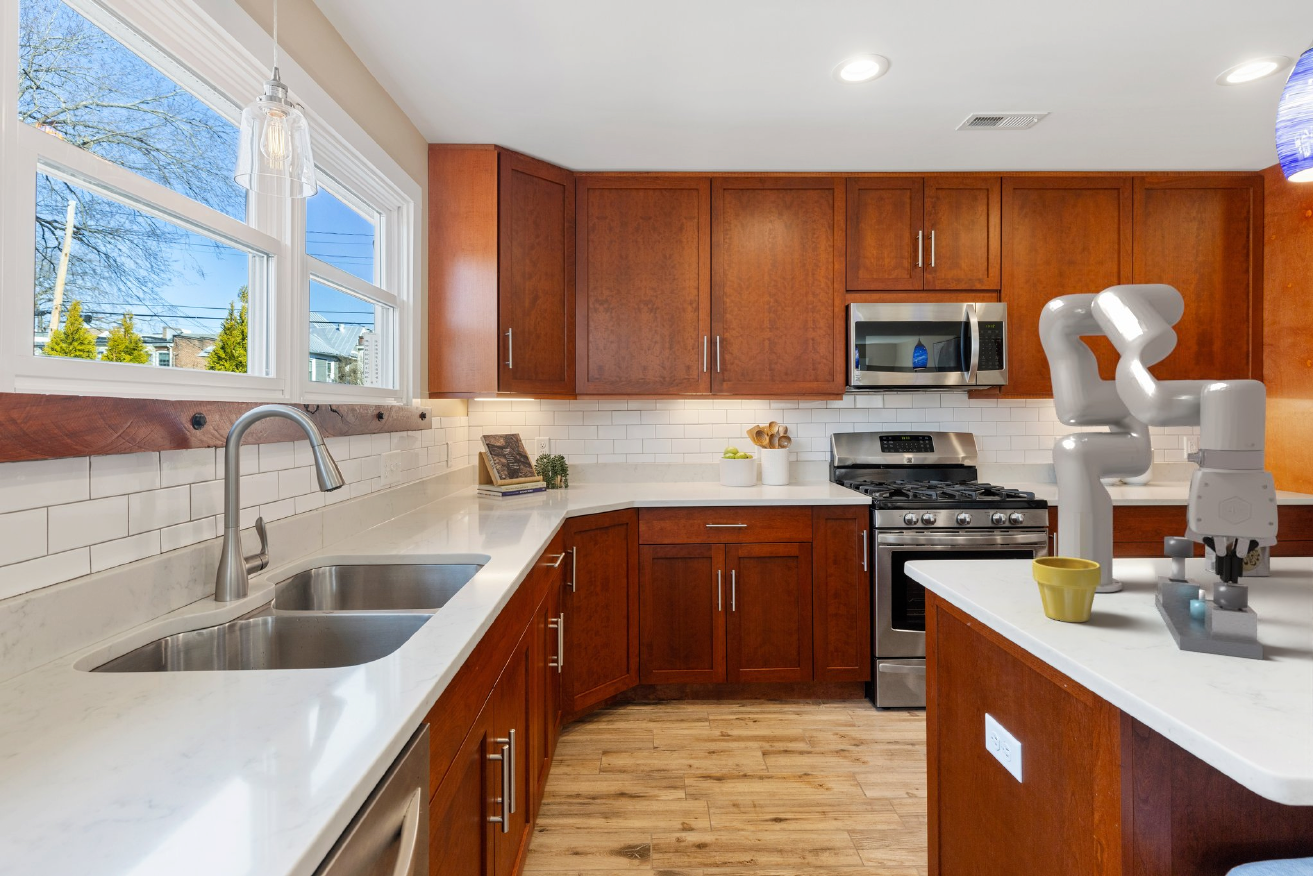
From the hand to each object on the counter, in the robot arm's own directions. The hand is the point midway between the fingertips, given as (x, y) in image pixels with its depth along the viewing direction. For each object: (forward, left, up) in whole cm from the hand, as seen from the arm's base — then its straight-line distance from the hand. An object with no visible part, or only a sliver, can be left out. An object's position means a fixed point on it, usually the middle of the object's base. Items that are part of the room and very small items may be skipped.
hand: (1228, 580), depth 103 cm
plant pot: (-21, +6, -10) cm, 24 cm away
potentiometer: (-2, +8, -8) cm, 11 cm away
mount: (-2, +8, -10) cm, 13 cm away
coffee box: (+12, +57, -10) cm, 59 cm away
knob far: (-4, +16, -3) cm, 16 cm away
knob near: (0, 0, -8) cm, 8 cm away
